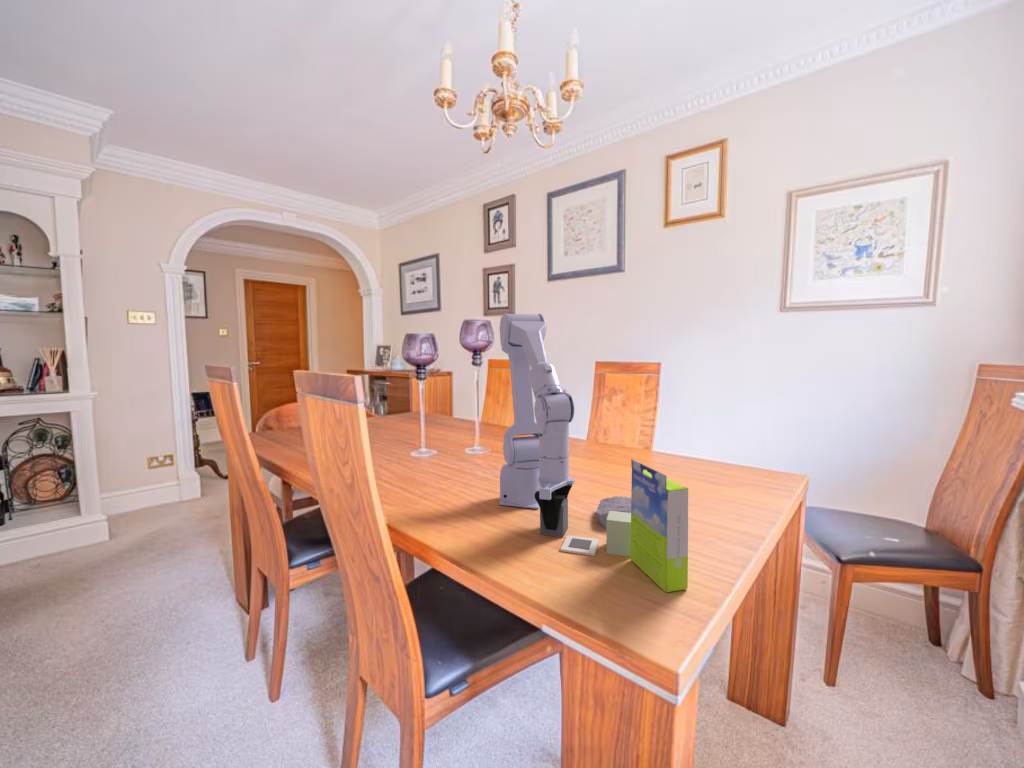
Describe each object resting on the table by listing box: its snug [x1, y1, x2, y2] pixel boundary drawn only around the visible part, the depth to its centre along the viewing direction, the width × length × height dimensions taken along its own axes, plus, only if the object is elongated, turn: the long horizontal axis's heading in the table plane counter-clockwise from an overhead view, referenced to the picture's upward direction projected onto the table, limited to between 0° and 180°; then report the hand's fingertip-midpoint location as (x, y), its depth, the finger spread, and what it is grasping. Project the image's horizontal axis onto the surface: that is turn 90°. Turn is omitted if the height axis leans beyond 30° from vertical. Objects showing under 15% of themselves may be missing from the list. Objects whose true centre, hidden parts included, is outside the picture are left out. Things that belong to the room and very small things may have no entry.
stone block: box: [595, 495, 631, 530], centre depth 89 cm, size 12×5×10 cm
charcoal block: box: [539, 498, 569, 538], centre depth 83 cm, size 4×4×6 cm
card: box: [559, 534, 600, 557], centre depth 76 cm, size 6×6×1 cm
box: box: [629, 458, 689, 593], centre depth 66 cm, size 10×4×17 cm, turn 13°
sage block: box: [605, 511, 631, 557], centre depth 75 cm, size 4×4×6 cm
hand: (554, 524), depth 83 cm, fingers closed on charcoal block, 4 cm apart
